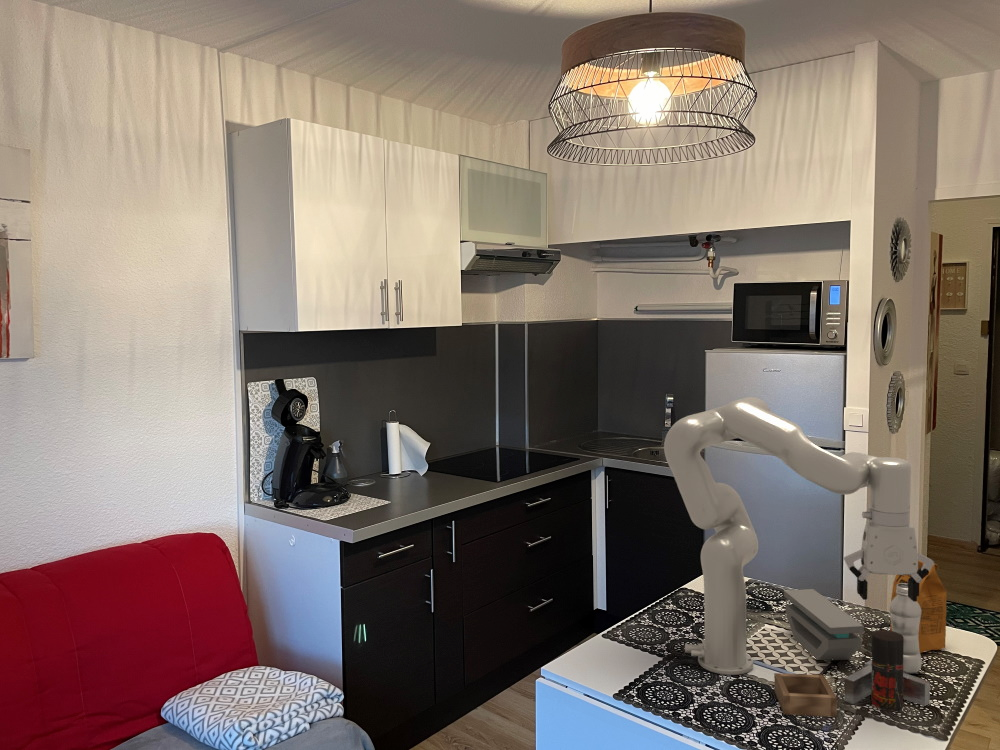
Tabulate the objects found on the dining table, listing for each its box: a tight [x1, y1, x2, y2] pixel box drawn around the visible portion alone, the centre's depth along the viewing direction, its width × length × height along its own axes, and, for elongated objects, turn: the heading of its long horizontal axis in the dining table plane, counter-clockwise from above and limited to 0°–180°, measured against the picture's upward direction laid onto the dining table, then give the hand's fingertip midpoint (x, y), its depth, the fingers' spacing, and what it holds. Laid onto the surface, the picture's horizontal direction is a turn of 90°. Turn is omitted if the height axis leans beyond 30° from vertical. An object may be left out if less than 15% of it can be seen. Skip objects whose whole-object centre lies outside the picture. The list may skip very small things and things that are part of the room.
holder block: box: [773, 672, 838, 718], centre depth 168 cm, size 10×10×4 cm
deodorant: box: [871, 629, 904, 713], centre depth 166 cm, size 6×6×15 cm
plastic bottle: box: [888, 583, 923, 675], centre depth 181 cm, size 6×7×20 cm
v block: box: [843, 659, 931, 706], centre depth 172 cm, size 17×11×5 cm
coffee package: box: [889, 560, 948, 654], centre depth 196 cm, size 10×12×22 cm
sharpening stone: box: [783, 588, 865, 661], centre depth 194 cm, size 25×8×11 cm, turn 4°
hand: (887, 598), depth 165 cm, fingers open, 9 cm apart
